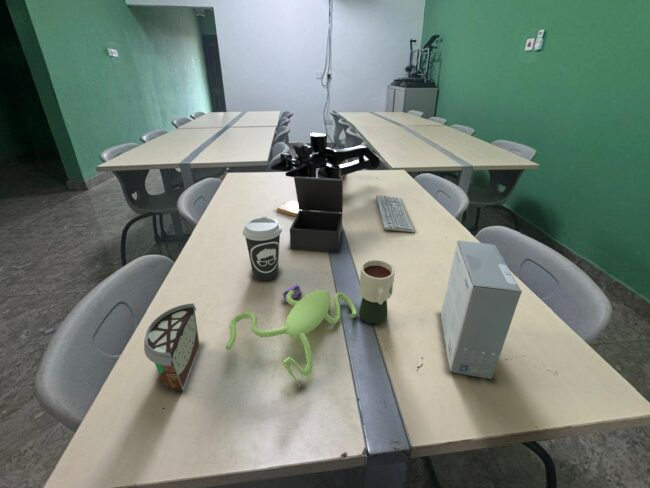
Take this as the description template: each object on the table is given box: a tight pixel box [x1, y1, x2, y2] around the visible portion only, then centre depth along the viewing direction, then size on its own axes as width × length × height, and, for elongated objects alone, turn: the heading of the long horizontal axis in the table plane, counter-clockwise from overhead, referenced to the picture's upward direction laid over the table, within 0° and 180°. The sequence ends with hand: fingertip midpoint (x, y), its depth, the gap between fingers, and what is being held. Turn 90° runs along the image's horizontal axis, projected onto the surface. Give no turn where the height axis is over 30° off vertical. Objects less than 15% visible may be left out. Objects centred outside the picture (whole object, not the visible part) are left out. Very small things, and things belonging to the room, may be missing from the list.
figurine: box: [225, 283, 358, 387], centre depth 66 cm, size 18×27×6 cm
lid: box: [293, 176, 344, 214], centre depth 99 cm, size 15×15×1 cm
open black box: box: [289, 210, 344, 254], centre depth 100 cm, size 14×15×7 cm
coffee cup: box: [242, 216, 283, 282], centre depth 81 cm, size 10×10×15 cm
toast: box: [276, 199, 308, 218], centre depth 121 cm, size 9×9×2 cm
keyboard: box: [375, 194, 415, 233], centre depth 121 cm, size 29×10×2 cm, turn 179°
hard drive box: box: [440, 240, 523, 380], centre depth 61 cm, size 16×8×20 cm, turn 170°
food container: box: [143, 303, 201, 392], centre depth 56 cm, size 12×6×10 cm, turn 5°
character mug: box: [358, 259, 396, 325], centre depth 68 cm, size 11×7×13 cm, turn 4°
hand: (278, 171), depth 112 cm, fingers open, 9 cm apart
